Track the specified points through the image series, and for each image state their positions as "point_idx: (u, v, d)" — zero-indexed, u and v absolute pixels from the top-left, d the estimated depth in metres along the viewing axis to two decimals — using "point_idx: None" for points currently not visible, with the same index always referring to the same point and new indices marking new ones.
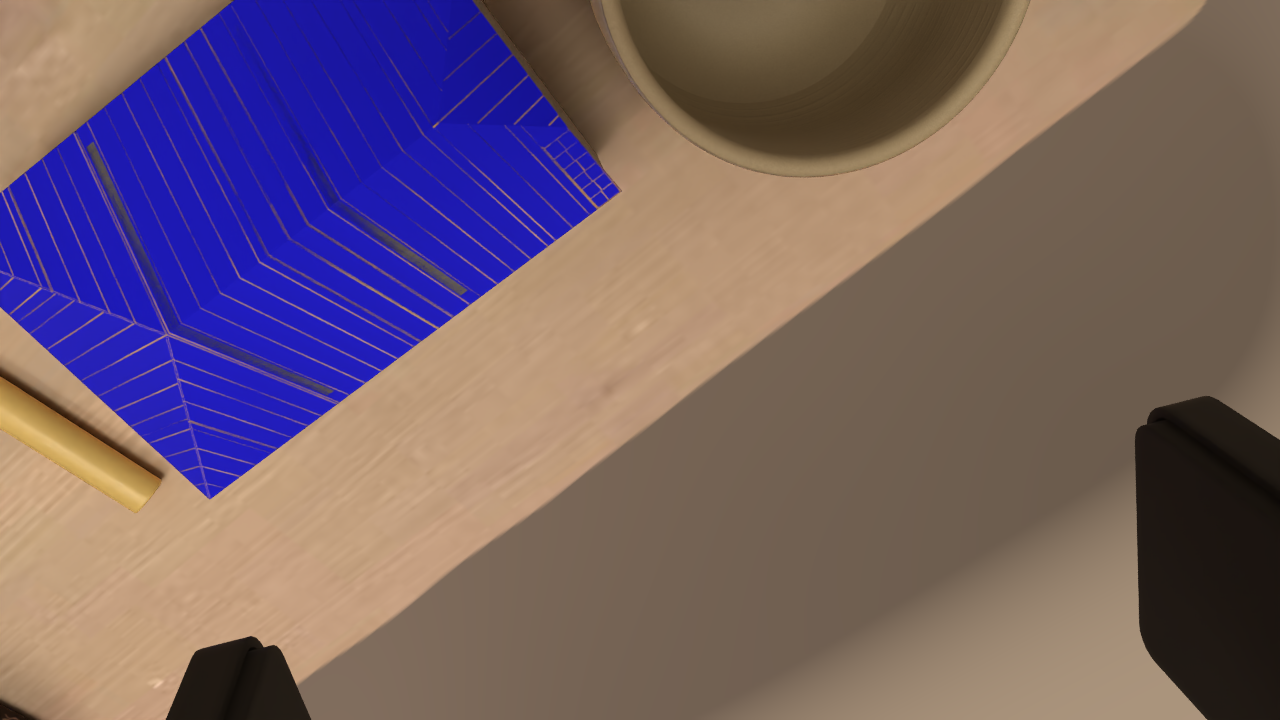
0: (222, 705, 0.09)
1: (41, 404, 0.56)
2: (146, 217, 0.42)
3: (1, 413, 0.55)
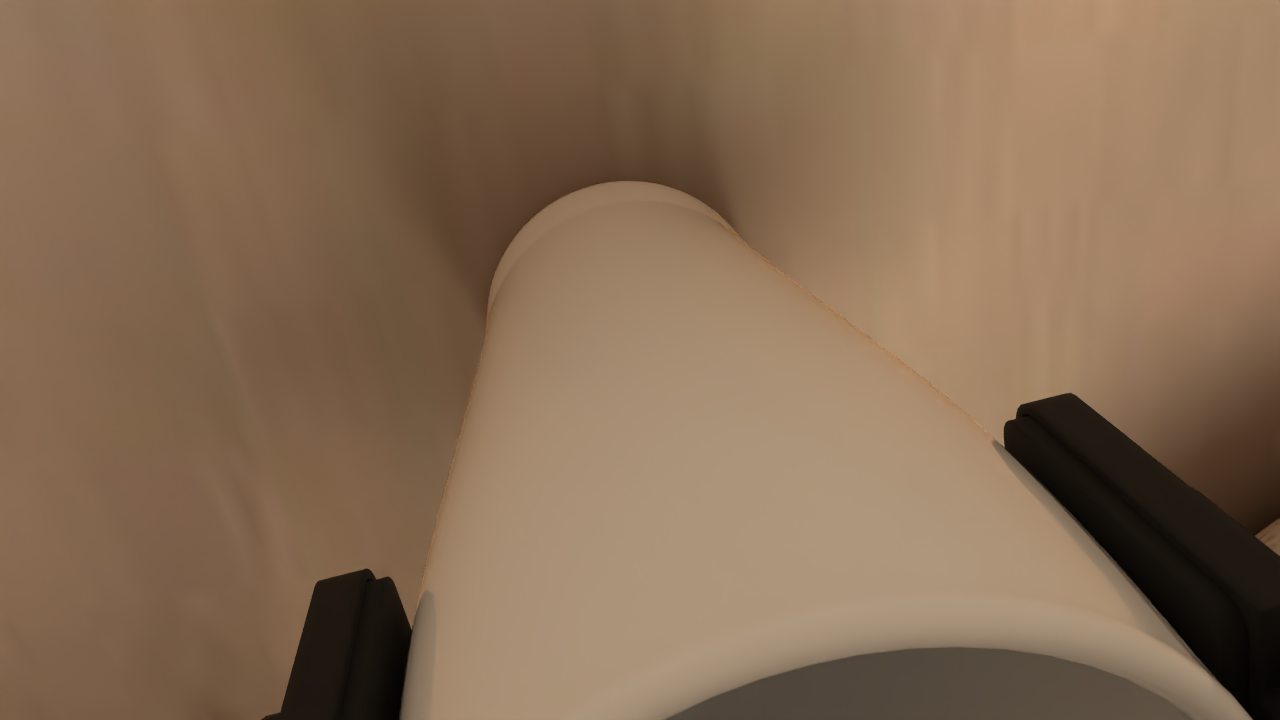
0: (351, 626, 0.10)
1: None
2: None
3: None
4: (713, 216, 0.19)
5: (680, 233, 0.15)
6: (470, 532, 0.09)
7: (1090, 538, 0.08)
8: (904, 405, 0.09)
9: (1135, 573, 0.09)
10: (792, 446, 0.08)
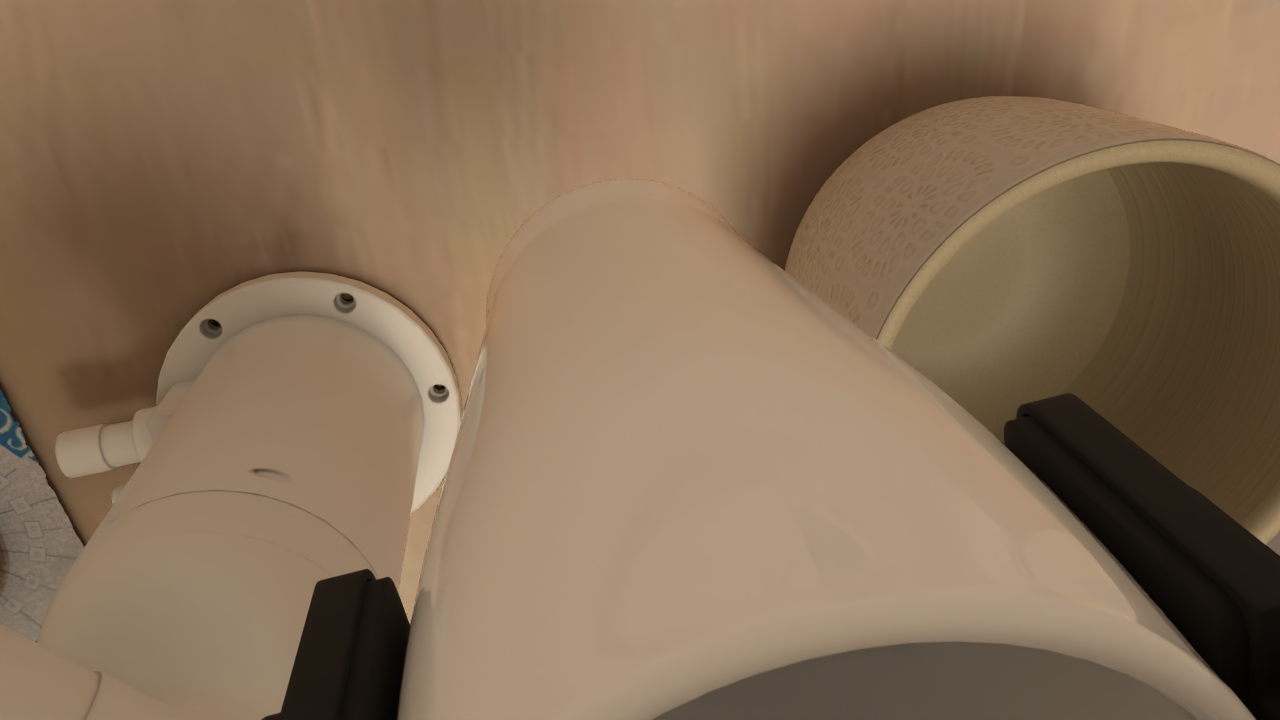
0: (351, 626, 0.10)
1: None
2: None
3: None
4: (712, 214, 0.19)
5: (679, 230, 0.15)
6: (468, 528, 0.09)
7: (1089, 533, 0.08)
8: (903, 400, 0.09)
9: (1135, 573, 0.09)
10: (791, 441, 0.08)
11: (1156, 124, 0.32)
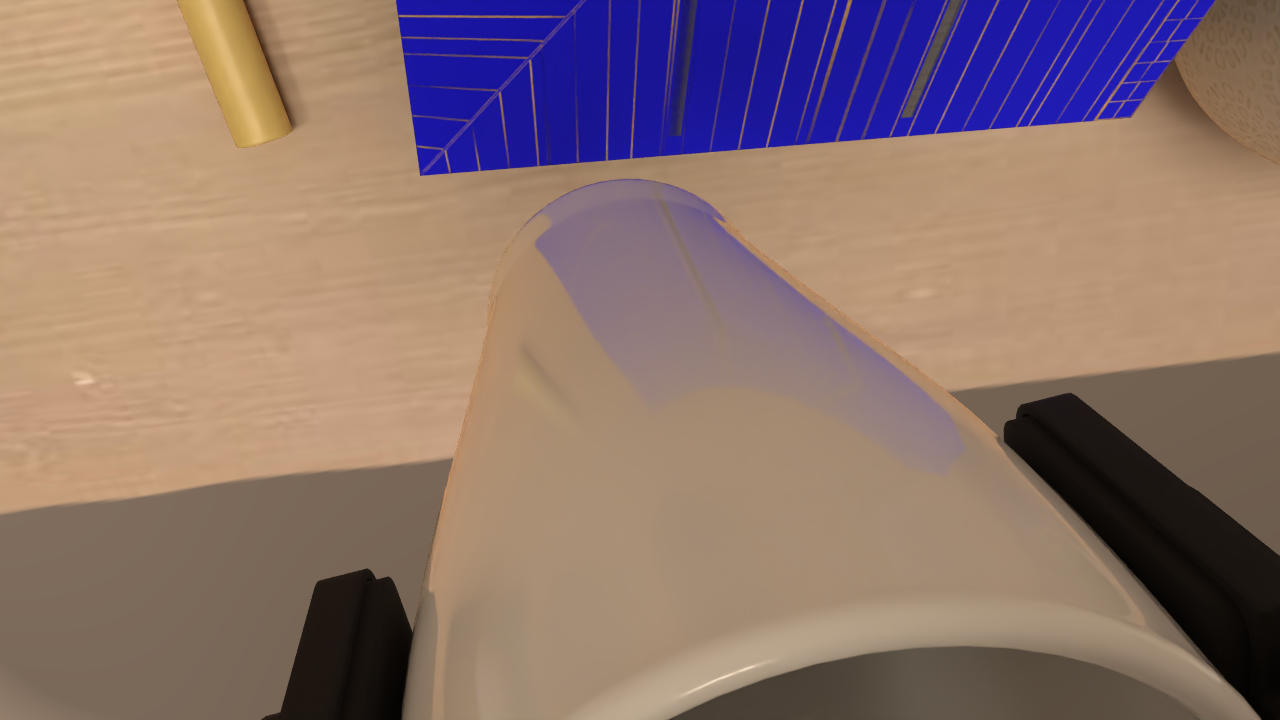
0: (351, 626, 0.10)
1: None
2: None
3: None
4: (715, 214, 0.19)
5: (682, 231, 0.15)
6: (472, 530, 0.09)
7: (1097, 537, 0.08)
8: (909, 403, 0.09)
9: (1135, 573, 0.09)
10: (797, 444, 0.08)
11: None
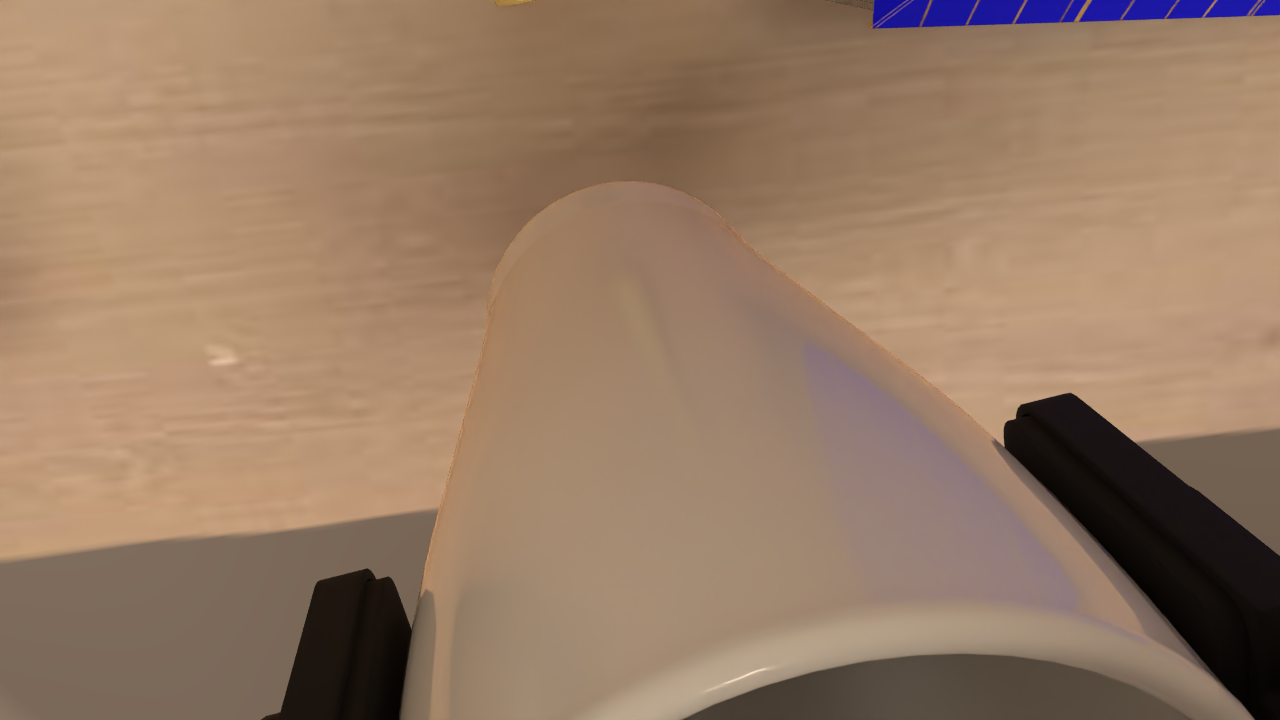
0: (352, 626, 0.10)
1: None
2: None
3: None
4: (714, 216, 0.19)
5: (681, 234, 0.15)
6: (470, 535, 0.09)
7: (1095, 542, 0.08)
8: (907, 408, 0.09)
9: (1135, 573, 0.09)
10: (795, 449, 0.08)
11: None
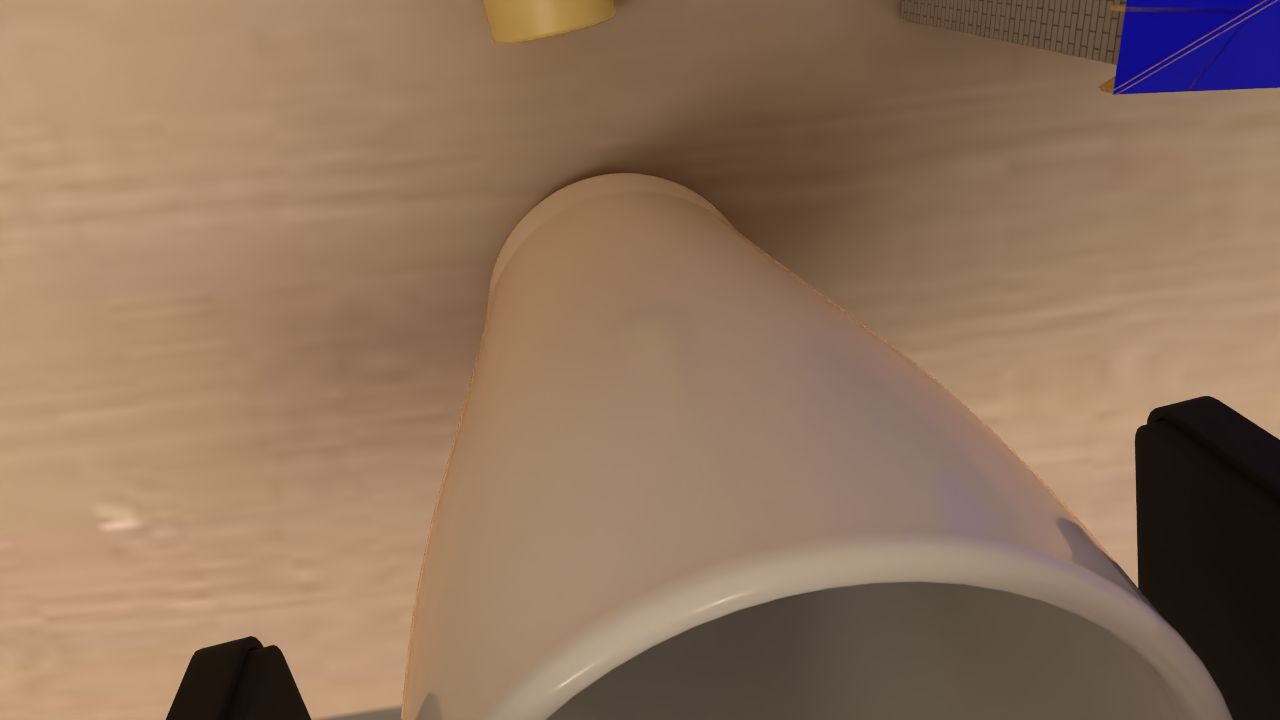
0: (222, 705, 0.09)
1: None
2: None
3: None
4: (707, 207, 0.19)
5: (674, 221, 0.16)
6: (473, 493, 0.10)
7: (1053, 495, 0.09)
8: (881, 373, 0.10)
9: None
10: (773, 407, 0.08)
11: None
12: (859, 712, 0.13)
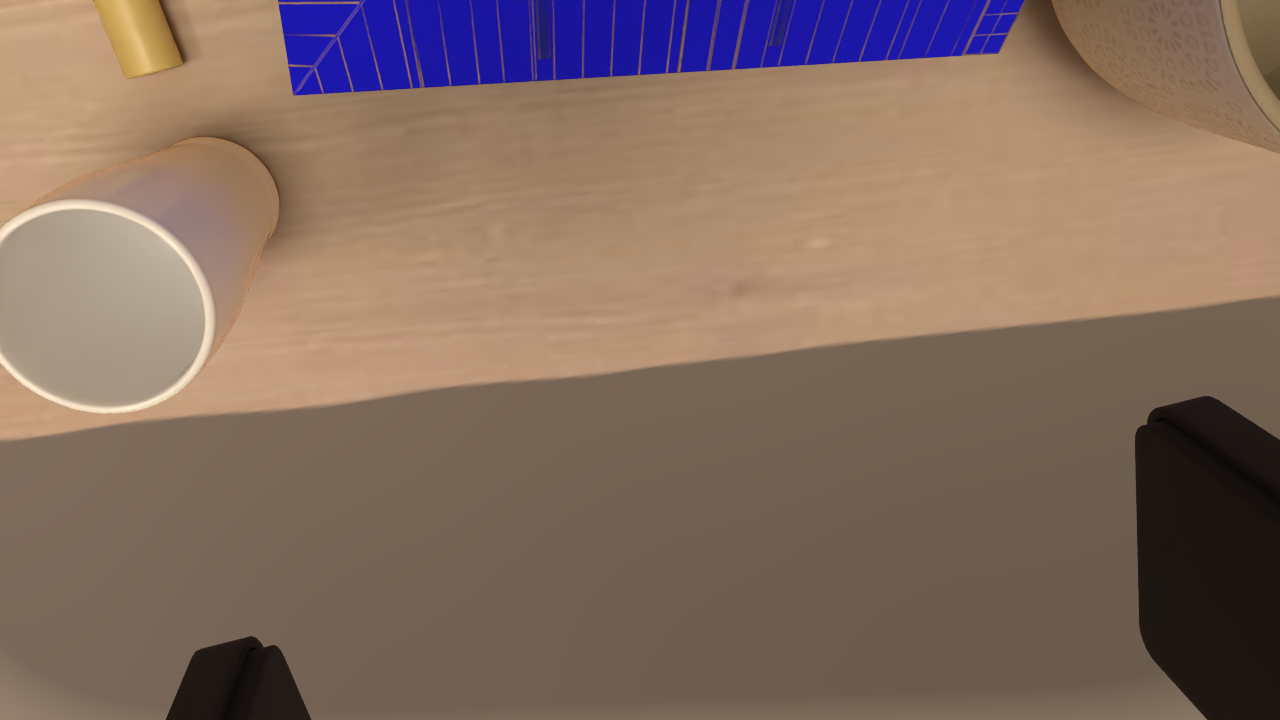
0: (222, 705, 0.09)
1: None
2: None
3: None
4: (232, 150, 0.42)
5: (177, 151, 0.39)
6: None
7: (173, 207, 0.32)
8: (142, 179, 0.32)
9: None
10: (88, 182, 0.31)
11: None
12: None
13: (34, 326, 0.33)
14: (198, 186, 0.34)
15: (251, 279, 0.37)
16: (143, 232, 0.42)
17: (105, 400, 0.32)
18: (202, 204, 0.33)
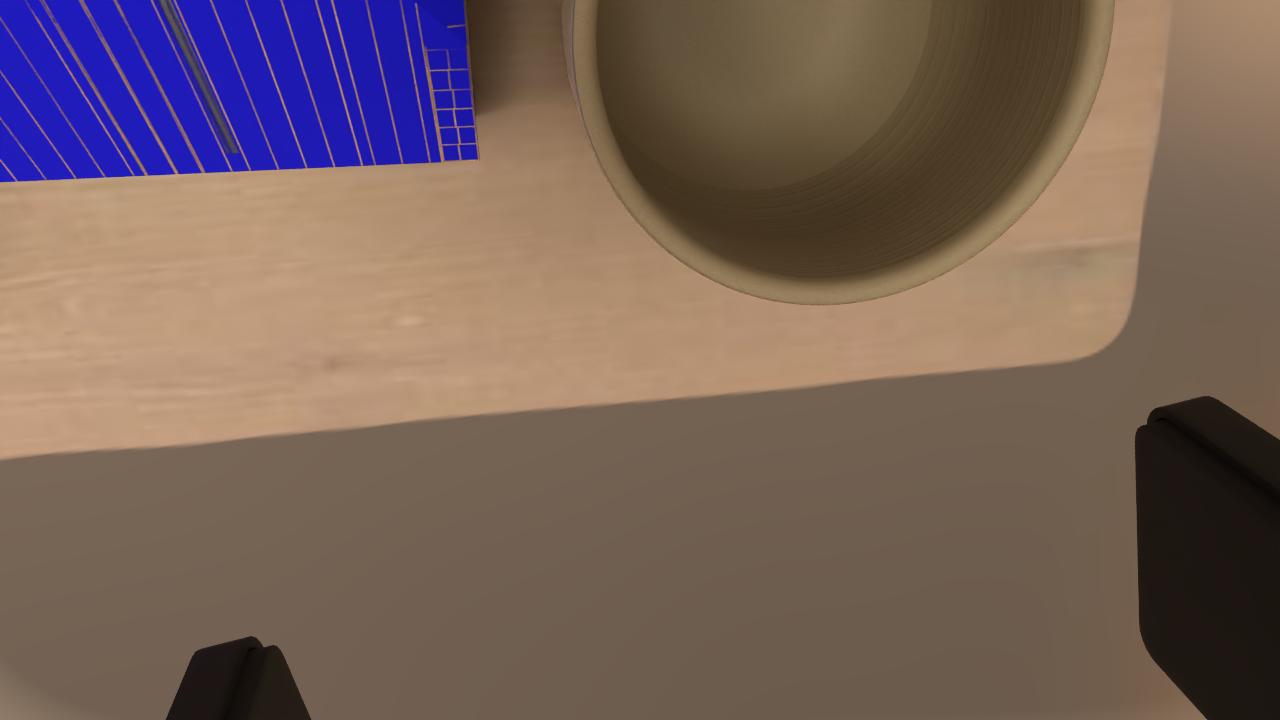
0: (222, 705, 0.09)
1: None
2: None
3: None
4: None
5: None
6: None
7: None
8: None
9: None
10: None
11: None
12: None
13: None
14: None
15: None
16: None
17: None
18: None
